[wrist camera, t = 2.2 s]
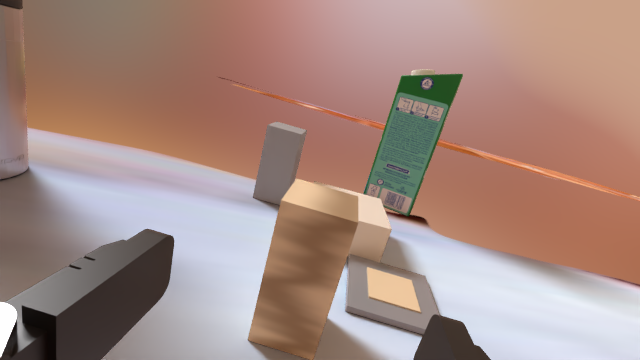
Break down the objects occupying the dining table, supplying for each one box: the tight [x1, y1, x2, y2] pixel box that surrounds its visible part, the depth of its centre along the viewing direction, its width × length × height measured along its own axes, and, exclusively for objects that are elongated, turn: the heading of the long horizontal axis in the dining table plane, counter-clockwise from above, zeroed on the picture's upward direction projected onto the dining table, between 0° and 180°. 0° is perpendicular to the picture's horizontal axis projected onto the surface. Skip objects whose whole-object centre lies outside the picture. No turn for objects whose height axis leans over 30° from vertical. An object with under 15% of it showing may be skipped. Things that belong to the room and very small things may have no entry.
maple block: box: [248, 179, 358, 360], centre depth 22 cm, size 5×5×11 cm
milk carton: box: [364, 69, 463, 216], centre depth 56 cm, size 9×9×25 cm
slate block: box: [253, 122, 307, 205], centre depth 45 cm, size 5×5×11 cm
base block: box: [314, 182, 392, 263], centre depth 40 cm, size 10×10×5 cm
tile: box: [345, 254, 439, 335], centre depth 31 cm, size 9×9×1 cm
